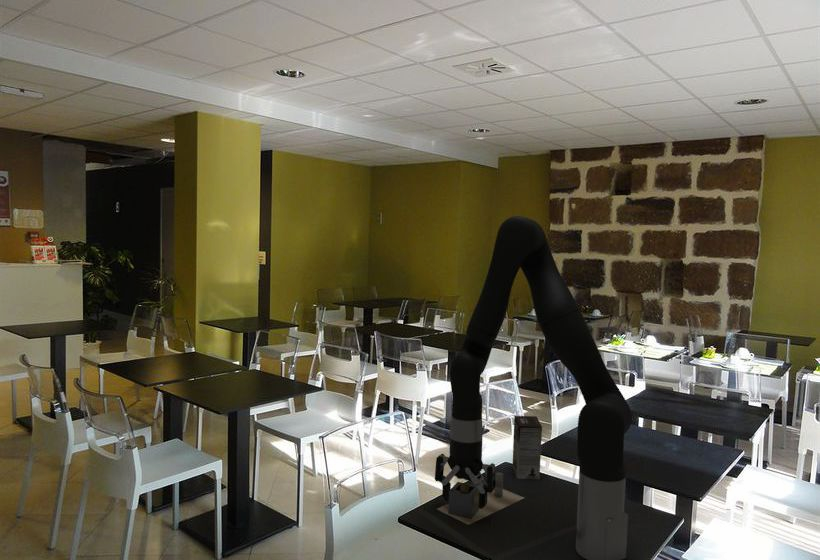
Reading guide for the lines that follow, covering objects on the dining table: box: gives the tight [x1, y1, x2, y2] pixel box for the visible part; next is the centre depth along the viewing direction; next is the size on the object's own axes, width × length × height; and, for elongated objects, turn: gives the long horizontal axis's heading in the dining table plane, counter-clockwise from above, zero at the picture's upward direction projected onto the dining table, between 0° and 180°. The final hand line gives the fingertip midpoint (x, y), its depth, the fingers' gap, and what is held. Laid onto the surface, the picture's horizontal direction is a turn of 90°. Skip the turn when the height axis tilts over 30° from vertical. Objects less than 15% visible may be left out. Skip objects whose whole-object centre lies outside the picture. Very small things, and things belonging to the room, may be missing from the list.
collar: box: [448, 481, 480, 519], centre depth 138 cm, size 6×6×6 cm
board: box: [436, 472, 525, 525], centre depth 143 cm, size 21×10×8 cm, turn 133°
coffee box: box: [512, 415, 543, 480], centre depth 162 cm, size 9×6×16 cm
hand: (464, 503), depth 138 cm, fingers open, 8 cm apart
